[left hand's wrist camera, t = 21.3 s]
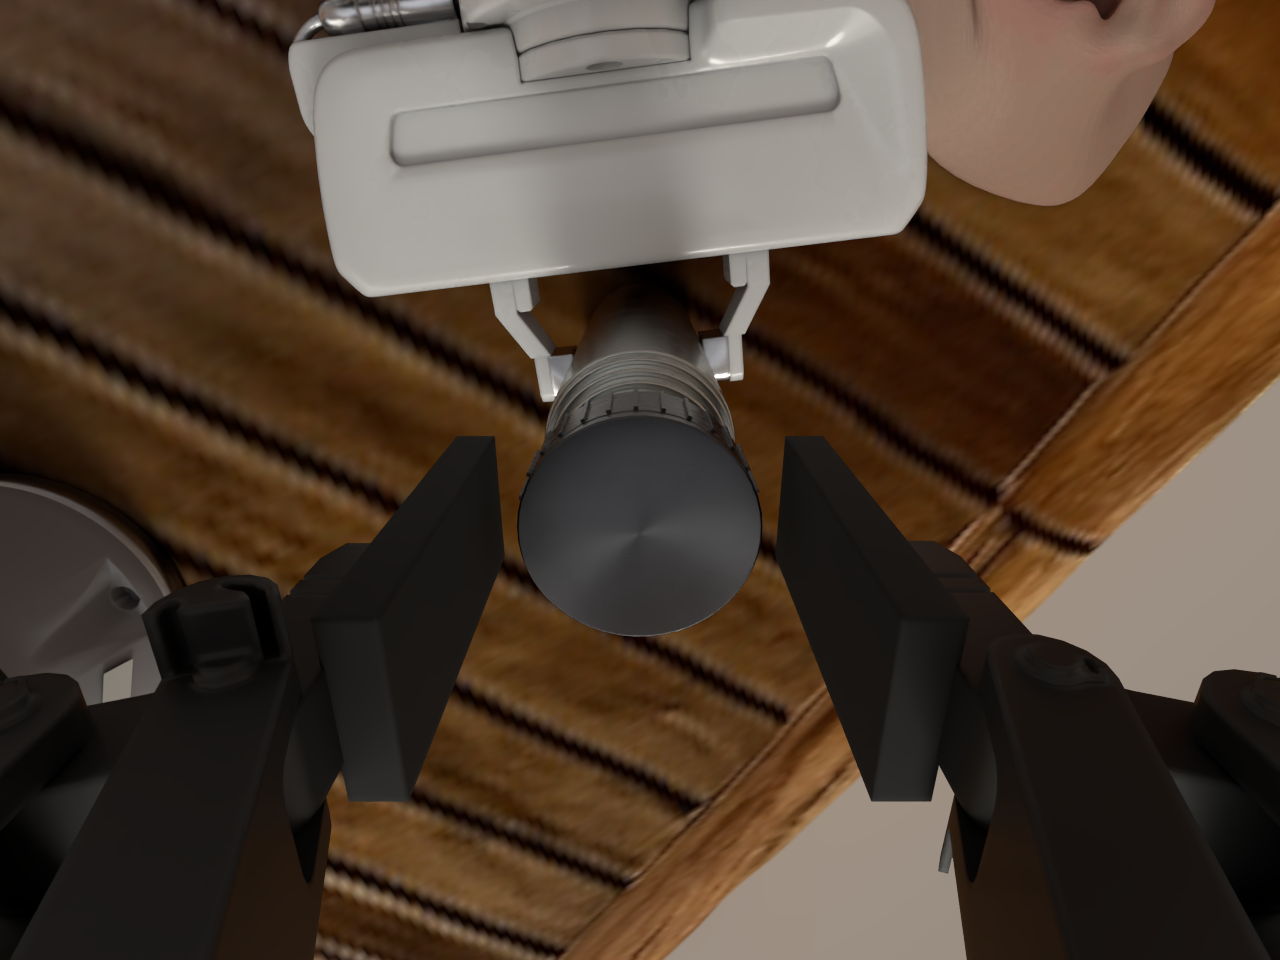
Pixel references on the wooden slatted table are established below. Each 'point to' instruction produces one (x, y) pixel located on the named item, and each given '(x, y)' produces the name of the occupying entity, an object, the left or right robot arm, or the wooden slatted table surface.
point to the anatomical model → (1043, 86)
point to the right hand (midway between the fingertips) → (643, 387)
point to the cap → (639, 515)
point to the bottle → (639, 355)
